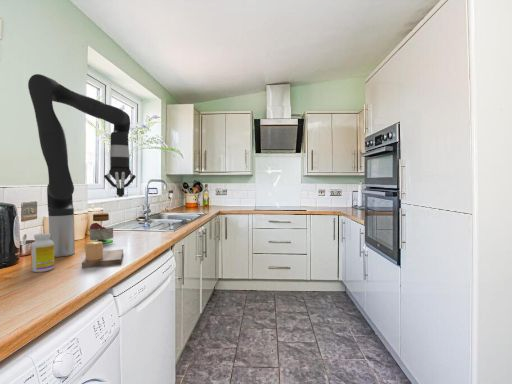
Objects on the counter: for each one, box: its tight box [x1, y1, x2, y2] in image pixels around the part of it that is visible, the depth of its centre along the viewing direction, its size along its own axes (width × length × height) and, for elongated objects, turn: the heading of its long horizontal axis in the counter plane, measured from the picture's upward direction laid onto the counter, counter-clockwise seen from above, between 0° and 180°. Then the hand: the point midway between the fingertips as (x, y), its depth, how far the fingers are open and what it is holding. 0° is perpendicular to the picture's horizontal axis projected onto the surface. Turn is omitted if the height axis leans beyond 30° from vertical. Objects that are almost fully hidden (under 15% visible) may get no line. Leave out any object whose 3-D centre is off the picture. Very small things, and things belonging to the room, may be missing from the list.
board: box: [81, 248, 124, 269], centre depth 118 cm, size 13×18×2 cm
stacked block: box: [87, 212, 114, 245], centre depth 154 cm, size 12×13×15 cm
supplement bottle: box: [30, 232, 56, 273], centre depth 106 cm, size 7×7×13 cm
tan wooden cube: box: [84, 241, 104, 261], centre depth 113 cm, size 6×6×6 cm
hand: (120, 196), depth 127 cm, fingers closed
